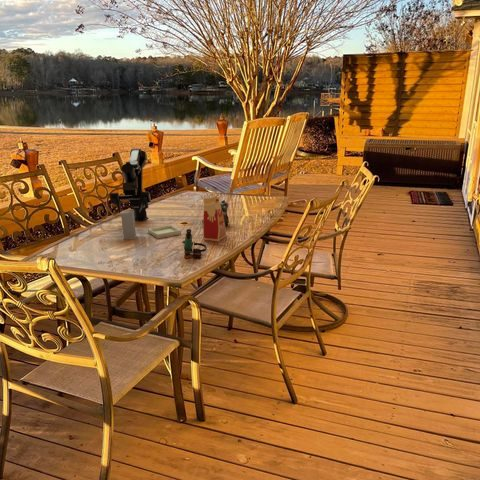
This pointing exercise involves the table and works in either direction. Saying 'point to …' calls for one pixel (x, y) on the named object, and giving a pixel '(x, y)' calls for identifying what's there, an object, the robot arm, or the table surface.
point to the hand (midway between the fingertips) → (129, 212)
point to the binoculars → (189, 244)
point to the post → (128, 224)
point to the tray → (164, 231)
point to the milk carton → (213, 220)
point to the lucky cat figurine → (224, 211)
